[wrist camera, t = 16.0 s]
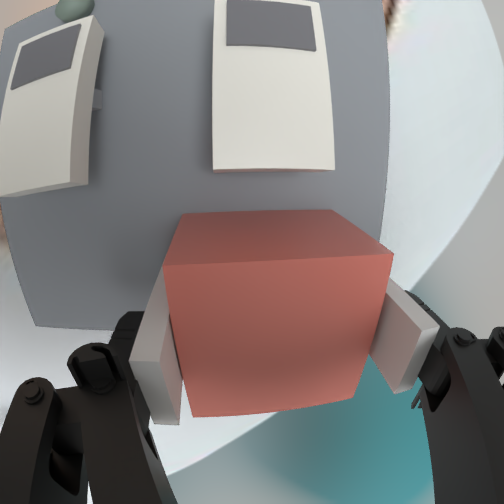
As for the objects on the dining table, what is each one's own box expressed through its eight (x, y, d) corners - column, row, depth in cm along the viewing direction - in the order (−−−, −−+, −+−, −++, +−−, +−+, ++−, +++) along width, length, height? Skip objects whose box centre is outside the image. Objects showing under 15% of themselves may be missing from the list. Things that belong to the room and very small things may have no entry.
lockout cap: (182, 213, 11) (162, 265, 7) (332, 209, 12) (393, 253, 8) (195, 337, 14) (193, 417, 9) (317, 328, 15) (352, 397, 10)
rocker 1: (34, 55, 7) (17, 42, 6) (104, 32, 7) (92, 12, 6) (16, 196, 8) (-8, 197, 7) (88, 184, 8) (67, 181, 7)
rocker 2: (214, 14, 8) (215, -9, 6) (308, 20, 8) (320, 0, 7) (213, 172, 9) (212, 169, 8) (319, 172, 10) (337, 169, 8)
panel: (27, 37, 8) (-7, 25, 5) (359, 12, 11) (392, -10, 7) (52, 304, 15) (28, 337, 12) (347, 291, 17) (373, 325, 14)
